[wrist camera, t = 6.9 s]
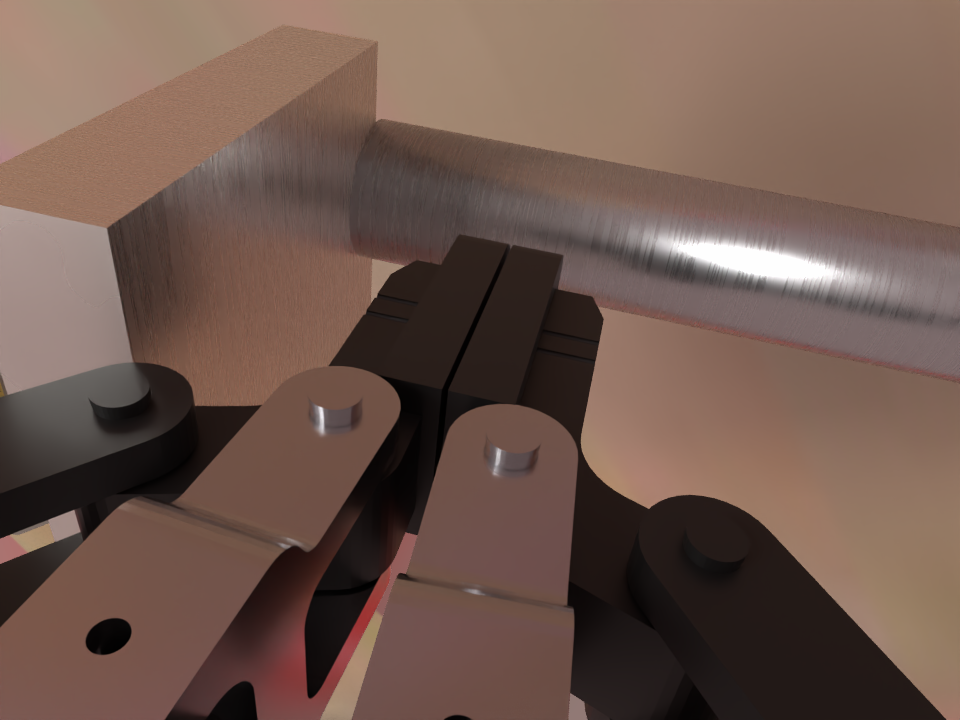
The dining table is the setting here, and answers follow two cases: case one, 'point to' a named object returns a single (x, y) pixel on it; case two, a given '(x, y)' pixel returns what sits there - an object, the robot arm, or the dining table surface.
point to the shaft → (403, 234)
